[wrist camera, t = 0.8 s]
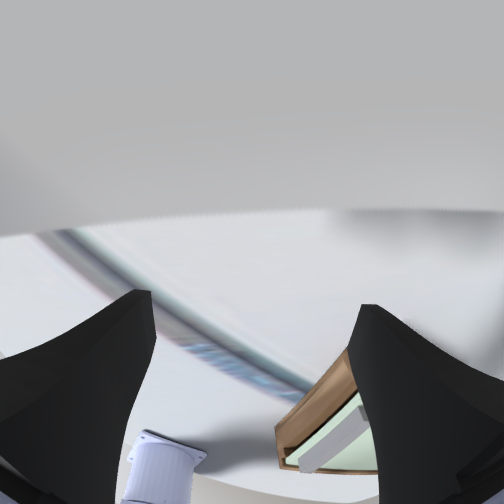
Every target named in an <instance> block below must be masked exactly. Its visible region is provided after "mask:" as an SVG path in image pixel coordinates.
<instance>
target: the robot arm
mask: <svg viewBox="0 0 504 504" xmlns="http://www.w3.org/2000/svg"><path fill="white" fill-rule="evenodd" d="M156 338H157V337H156V330H155V323H154V316H153V308H152V299H151V291H146V290H137V289H134V290H132V291H130V292H128V293H127V294H125V295H124V296H122V297H120V298H119V299H117V300H116V301H114V302H113V303H111V304H110V305H108V306H107V307H105V308H104V309H102V310H101V311H99V312H98V313H96V314H95V315H93V316H92V317H90V318H89V319H87V320H85V321H84V322H82V323H80V324H79V325H77V326H75V327H74V328H72V329H71V330H69V331H67V332H65V333H64V334H62V335H60V336H58V337H56V338H54V339H52V340H50V341H48V342H46V343H44V344H42V345H39V346H37V347H34V348H32V349H29V350H27V351H24V352H22V353H19V354H16V355H14V356H11V357H7V358H4V359H1V360H0V504H116V503H115V492H116V482H117V473H118V466H119V461H120V455H121V449H122V444H123V440H124V435H125V431H126V426H127V422H128V419H129V416H130V413H131V410H132V407H133V405H134V402H135V400H136V397H137V395H138V392H139V389H140V387H141V384H142V382H143V379H144V377H145V374H146V372H147V369H148V367H149V364H150V362H151V358H152V354H153V350H154V346H155V342H156ZM347 352H348V357H349V362H350V367H351V371H352V374H353V377H354V380H355V383H356V386H357V389H358V392H359V394H360V397H361V400H362V403H363V406H364V409H365V412H366V415H367V417H368V420H369V424H370V428H371V431H372V436H373V442H374V447H375V453H376V461H377V469H378V481H379V504H504V381H503V380H500V379H497V378H495V377H492V376H489V375H487V374H485V373H483V372H481V371H478V370H476V369H474V368H472V367H470V366H468V365H466V364H464V363H463V362H461V361H459V360H457V359H456V358H454V357H452V356H450V355H449V354H447V353H446V352H444V351H442V350H441V349H439V348H438V347H436V346H435V345H434V344H432V343H431V342H429V341H428V340H426V339H425V338H423V337H422V336H421V335H419V334H418V333H417V332H415V331H414V330H413V329H411V328H410V327H409V326H407V325H406V324H404V323H403V322H402V321H400V320H399V319H398V318H396V317H395V316H394V315H392V314H391V313H389V312H388V311H387V310H385V309H384V308H382V307H380V306H379V305H377V304H362V305H361V308H360V311H359V314H358V317H357V321H356V324H355V327H354V330H353V332H352V335H351V338H350V341H349V344H348V347H347ZM206 456H207V454H206V453H205V452H203V451H199V450H196V449H193V448H190V447H187V446H183V445H180V444H177V443H175V442H172V441H169V440H166V439H163V438H161V437H158V436H155V435H153V434H150V433H148V432H145V431H141V432H140V434H139V436H138V438H137V440H136V442H135V444H134V446H133V448H132V450H131V452H130V454H129V456H128V457H127V461H128V462H130V463H132V467H131V471H130V474H129V478H128V482H127V486H126V490H125V494H124V498H123V499H122V500H121V503H120V504H190V500H191V489H192V479H193V470H194V468H195V467H196V466H197V465H198V464H199V463H200V462H201V461H202V460H203V459H204V458H205V457H206Z"/></svg>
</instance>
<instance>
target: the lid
mask: <svg viewBox="0 0 504 504" xmlns="http://www.w3.org/2000/svg"><path fill="white" fill-rule="evenodd" d="M286 464H291V465H298V466H299V470H300V473H310V474H311V473H313V472H314V471H315V470H317V469H318V468H328V469H344V470H378V469H377V461H376V453H375V447H374V442H373V436H372V431H371V428H370V424H369V420H368V417H367V415H366V412H365V409H364V406H363V403H362V400H361V397H360V394H359V392H358V393H357V394H356V395H355V397H354V398H353V399H352V400H351V401H350V402H349V403H348V404H347V405H346V406H345V407H344V408H343V409H342V410H341V411H340V412H339V413H338V414H337V415H335V416H334V417H333V418H332V419H331V420H330V421H329V422H328V423H327V424H326V425H325V426H324V427H323V428H322V429H320V430H319V431H318V432H317V433H316V434H315V435H314V436H313V437H311V438H310V439H309V440H308V441H307V442H306V443H304V444H303V445H302V446H301V447H300V448H298V449H297V450H296V451H295V452H293V453H292V454H291V455H290V456H288V457H287V458H286Z"/></svg>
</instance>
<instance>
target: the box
mask: <svg viewBox="0 0 504 504" xmlns="http://www.w3.org/2000/svg"><path fill="white" fill-rule="evenodd" d="M347 347H348V346H347ZM347 347H346V349H345V350H344V351H343V352H342V354H341V355H340V356H339V357H338V359H337V360H336V361H335V362H334V363H333V365H332V366H331V367H330V368H329V369H328V371H327V372H326V373H325V374H324V375H323V376H322V377H321V379H320V380H319V381H318V382H317V383H316V384H315V385H314V387H313V388H312V389H311V390H310V391H309V392H308V393H307V394H306V395H305V396H304V397H303V399H302V400H301V401H300V402H299V403H298V404H297V405H296V406H295V407H294V408H293V409H292V410H291V411H290V412H289V413H288V414H287V415H286V416H285V417H284V418H283V419H282V420H281V421H280V422H279V423H278V424H277V425H276V426H275V427H274V428H275V435H276V443H277V451H278V459H279V466H280V469H285V470H292V471H300V470H299V466H298V465H291V464H286V458H287V457H288V456H290V455H291V454H292V453H293V452H295V451H296V450H297V449H298V448H300V447H301V446H302V445H303V444H304V443H306V442H307V441H308V440H309V439H310V438H311V437H313V436H314V435H315V434H316V433H317V432H318V431H319V430H320V429H322V428H323V427H324V422H325V420H326V419H327V418H328V417H329V416H331V415H332V414H334V413H336V412H339V411H341V410H342V409H343V408H344V407H345V406H346V405H347V404H348V403H349V402H350V401H351V400H352V399H353V398H354V397H355V395H356V394H357V393H358V389H357V386H356V383H355V380H354V377H353V374H352V371H351V367H350V362H349V357H348V352H347ZM313 473H323V474H343V475H378V470H344V469H328V468H318V469H317V470H315V471H314V472H313Z"/></svg>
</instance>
